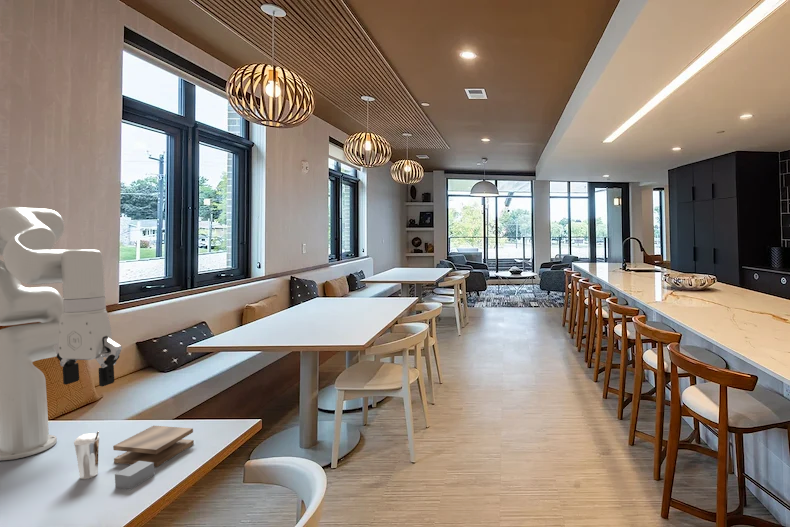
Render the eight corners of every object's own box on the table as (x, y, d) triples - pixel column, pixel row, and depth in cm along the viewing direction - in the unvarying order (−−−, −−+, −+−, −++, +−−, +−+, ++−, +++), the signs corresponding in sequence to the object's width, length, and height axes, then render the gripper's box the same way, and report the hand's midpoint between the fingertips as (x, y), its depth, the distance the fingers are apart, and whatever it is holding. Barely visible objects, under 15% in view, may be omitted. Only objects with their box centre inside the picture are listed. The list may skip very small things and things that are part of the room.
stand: (114, 462, 101) (113, 445, 101) (154, 440, 113) (153, 425, 113) (157, 467, 98) (156, 449, 98) (193, 444, 110) (192, 428, 110)
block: (115, 488, 90) (114, 474, 90) (139, 474, 96) (139, 460, 96) (130, 490, 89) (129, 476, 89) (154, 476, 95) (153, 462, 95)
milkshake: (91, 482, 93) (88, 435, 92) (70, 480, 94) (68, 434, 93) (109, 471, 97) (107, 427, 97) (89, 470, 98) (87, 426, 98)
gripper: (36, 308, 93) (40, 387, 94) (101, 308, 89) (105, 390, 89) (70, 303, 100) (74, 377, 101) (131, 303, 96) (135, 380, 97)
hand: (89, 383), depth 95 cm, fingers open, 9 cm apart
